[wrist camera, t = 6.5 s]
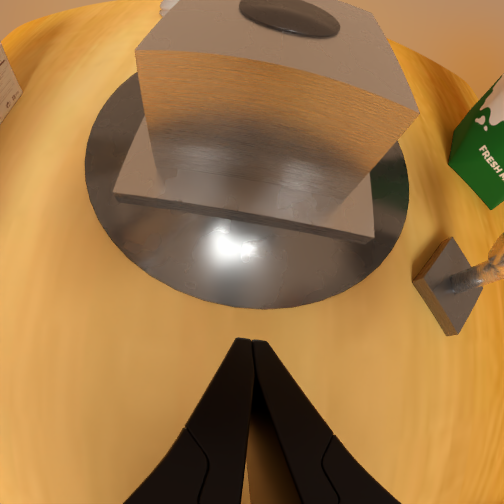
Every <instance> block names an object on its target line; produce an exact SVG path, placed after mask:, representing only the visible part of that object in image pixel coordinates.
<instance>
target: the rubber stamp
mask: <svg viewBox="0 0 504 504" xmlns="http://www.w3.org/2000/svg"><path fill="white" fill-rule="evenodd" d="M500 279H504V233H503V234H502V235H501V236H500V237H499V238H498V239H497V240H496V242H495V243H494V244H493V246H492V248H491V250H490V252H489V255H488V261H485V262H483V263H481V264H478V265H476V266H473V267H471V266H470V264H469V262H468V261H467V259H466V257H465V256H464V254H463V253H462V251H461V249H460V248H459V246H458V245H457V243H456V242H455V240H454V239H453V237H450V238H449V239H447V240H445V241H443V242H442V243H441V244H440V246H439V247H438V249H437V250H436V251H435V253H434V254H433V256H432V257H431V258H430V260H429V261H428V262H427V264H426V265H425V266H424V268H423V269H422V270H421V272H420V273H419V274H418V275H417V277H416V278H415V279H414V281H413V282H412V283H413V284H414V286H415V287H416V289H417V290H418V292H419V293H420V295H421V296H422V298H423V299H424V301H425V302H426V304H427V305H428V307H429V309H430V310H431V312H432V313H433V315H434V316H435V318H436V320H437V321H438V323H439V324H440V326H441V328H442V329H443V331H444V333H445V334H446V336H451V335H458V334H459V332H460V331H461V329H462V327H463V325H464V324H465V322H466V320H467V318H468V316H469V315H470V313H471V311H472V309H473V307H474V305H475V303H476V301H477V299H478V297H479V295H480V293H481V291H482V289H483V287H482V286H483V285H486V284H489V283H492V282H495V281H497V280H500Z"/></svg>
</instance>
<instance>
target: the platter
mask: <svg viewBox="0 0 504 504" xmlns="http://www.w3.org/2000/svg"><path fill="white" fill-rule="evenodd" d="M144 116H145V112H144V107H143V101H142V95H141V90H140V83H139V77H138V72H136V73H135V74H134V75H132V76H131V77H130V78H129V79H127V80H126V81H125V82H124V83H123V84H122V85H121V86H120V87H119V88H118V89H117V90H116V91H115V92H114V93H113V94H112V95H111V96H110V98H109V99H108V100H107V102H106V103H105V105H104V106H103V108H102V109H101V111H100V112H99V114H98V116H97V118H96V120H95V122H94V124H93V126H92V129H91V133H90V136H89V139H88V142H87V148H86V156H85V178H86V184H87V189H88V193H89V198H90V201H91V203H92V206H93V208H94V211H95V213H96V215H97V218H98V220H99V221H100V223H101V225H102V226H103V228H104V229H105V231H106V232H107V234H108V235H109V237H110V238H111V240H112V241H113V242H114V243H115V244H116V245H117V246H118V248H119V249H120V250H121V251H122V252H123V253H124V254H125V255H126V256H127V257H128V258H129V259H130V260H131V261H132V262H134V263H135V264H136V265H137V266H139V267H140V268H141V269H143V270H144V271H145V272H146V273H148V274H149V275H150V276H152V277H154V278H156V279H157V280H159V281H161V282H163V283H164V284H166V285H168V286H170V287H172V288H173V289H175V290H178V291H180V292H183V293H185V294H188V295H191V296H193V297H196V298H199V299H201V300H204V301H208V302H213V303H217V304H222V305H226V306H231V307H239V308H252V309H277V308H290V307H296V306H301V305H305V304H310V303H314V302H318V301H321V300H324V299H326V298H329V297H331V296H334V295H336V294H339V293H341V292H344V291H345V290H347V289H349V288H350V287H352V286H354V285H355V284H357V283H359V282H360V281H362V280H363V279H364V278H366V277H367V276H368V275H369V274H370V273H371V272H373V271H374V270H375V269H376V268H377V267H378V266H379V265H380V264H381V263H382V262H383V260H384V259H385V258H386V257H387V255H388V254H389V253H390V252H391V250H392V249H393V247H394V245H395V243H396V241H397V240H398V238H399V236H400V234H401V231H402V228H403V225H404V222H405V219H406V215H407V209H408V203H409V181H408V174H407V168H406V164H405V160H404V157H403V153H402V151H401V148H400V146H399V143H398V141H396V142H395V143H394V145H393V146H392V147H391V148H390V149H389V150H388V152H387V153H386V154H385V155H384V156H383V157H382V158H381V160H380V161H379V162H378V163H377V164H376V165H375V166H374V168H373V169H372V170H371V171H370V172H369V173H370V182H371V193H372V204H373V218H374V236H375V238H373V239H372V240H371V241H369V242H368V243H366V244H360V243H355V242H350V241H345V240H340V239H335V238H330V237H324V236H319V235H314V234H309V233H303V232H298V231H293V230H287V229H282V228H276V227H271V226H265V225H259V224H254V223H248V222H242V221H236V220H230V219H224V218H218V217H212V216H206V215H200V214H194V213H187V212H181V211H174V210H168V209H161V208H154V207H148V206H141V205H134V204H127V203H119V202H117V200H116V198H115V196H114V194H113V189H114V187H115V184H116V181H117V179H118V176H119V173H120V171H121V168H122V166H123V163H124V161H125V158H126V156H127V154H128V151H129V149H130V146H131V144H132V142H133V140H134V137H135V135H136V133H137V131H138V129H139V126H140V124H141V122H142V120H143V118H144Z"/></svg>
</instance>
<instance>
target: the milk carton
mask: <svg viewBox="0 0 504 504" xmlns="http://www.w3.org/2000/svg"><path fill="white" fill-rule="evenodd" d="M448 165H449V166H450V167H451V168H453V169H454V170H455V171H456V172H457V173H458V174H459V176H460V177H461V178H462V179H463V180H464V181H465V182H466V183H467V184H468V185H469V186H470V187H471V188H472V189H473V190H474V191H475V193H476V194H477V195H478V196H479V197H480V198H481V199H482V200H483V202H484V203H485V204H486V205H487V206H488V207H489V209H490V210H492V209H493V208H495V207H496V206H498V205H499V204H500V203H502V202H503V201H504V74H503V75H502V76H501V77H500V78H499V79H498V80H497V81H496V82H495V84H494V85H493V86H492V87H491V88H490V89H489V90H488V91H487V92H486V93H485V94H484V96H483V97H482V98H481V99H480V100H479V101H478V102H477V103H476V104H475V105H474V106H473V107H472V109H471V110H470V111H469V112H468V114H467V115H466V116H465V117H464V119H463V120H462V121H461V123H460V124H459V125H458V126H457V128H456V129H455V130H454V134H453V140H452V146H451V152H450V157H449V163H448Z"/></svg>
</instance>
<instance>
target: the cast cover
mask: <svg viewBox="0 0 504 504" xmlns="http://www.w3.org/2000/svg"><path fill="white" fill-rule="evenodd" d="M135 57H136V64H137V71H138V77H139V83H140V90H141V95H142V101H143V107H144V112H145V116H144V118H143V120H142V122H141V124H140V126H139V129H138V131H137V133H136V135H135V137H134V140H133V142H132V144H131V146H130V149H129V151H128V154H127V156H126V158H125V161H124V163H123V166H122V168H121V171H120V173H119V176H118V179H117V181H116V184H115V187H114V189H113V194H114V196H115V198H116V200H117V202H119V203H127V204H134V205H141V206H148V207H154V208H161V209H168V210H174V211H181V212H187V213H194V214H200V215H206V216H212V217H218V218H224V219H230V220H236V221H242V222H248V223H254V224H259V225H265V226H271V227H276V228H282V229H287V230H293V231H298V232H303V233H309V234H314V235H319V236H324V237H330V238H335V239H340V240H345V241H350V242H355V243H360V244H366V243H368V242H369V241H371V240H372V239H373V238H375V236H374V218H373V204H372V193H371V182H370V173H369V172H370V171H371V170H372V169H373V168H374V166H375V165H376V164H377V163H378V162H379V161H380V160H381V158H382V157H383V156H384V155H385V154H386V153H387V152H388V150H389V149H390V148H391V147H392V146H393V145H394V143H395V142H396V141H397V140H398V139H399V138H400V136H401V135H402V134H403V133H404V132H405V131H406V129H407V128H408V127H409V126H410V125H411V124H412V122H413V121H414V120H415V119H416V118H417V116H418V115H419V114H420V112H419V110H418V107H417V104H416V102H415V99H414V97H413V94H412V92H411V89H410V87H409V85H408V82H407V80H406V78H405V75H404V73H403V71H402V69H401V67H400V65H399V62H398V60H397V58H396V56H395V54H394V52H393V50H392V48H391V46H390V44H389V43H388V41H387V39H386V37H385V35H384V33H383V32H382V30H381V28H380V26H379V25H378V23H377V22H376V19H375V18H374V16H373V15H372V13H370V12H367V11H365V10H363V9H360V8H357V7H355V6H352V5H349V4H347V3H344V2H341V1H338V0H179V1H178V2H177V3H176V4H175V5H174V6H173V7H172V8H171V9H170V10H169V12H168V13H167V14H166V15H165V16H164V17H163V18H162V19H161V20H160V21H159V22H158V23H157V24H156V26H155V27H154V28H153V29H152V30H151V31H150V32H149V33H148V35H147V36H146V37H145V38H144V39H143V41H142V42H141V43H140V44H139V45H138V47H137V48H136V49H135Z"/></svg>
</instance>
